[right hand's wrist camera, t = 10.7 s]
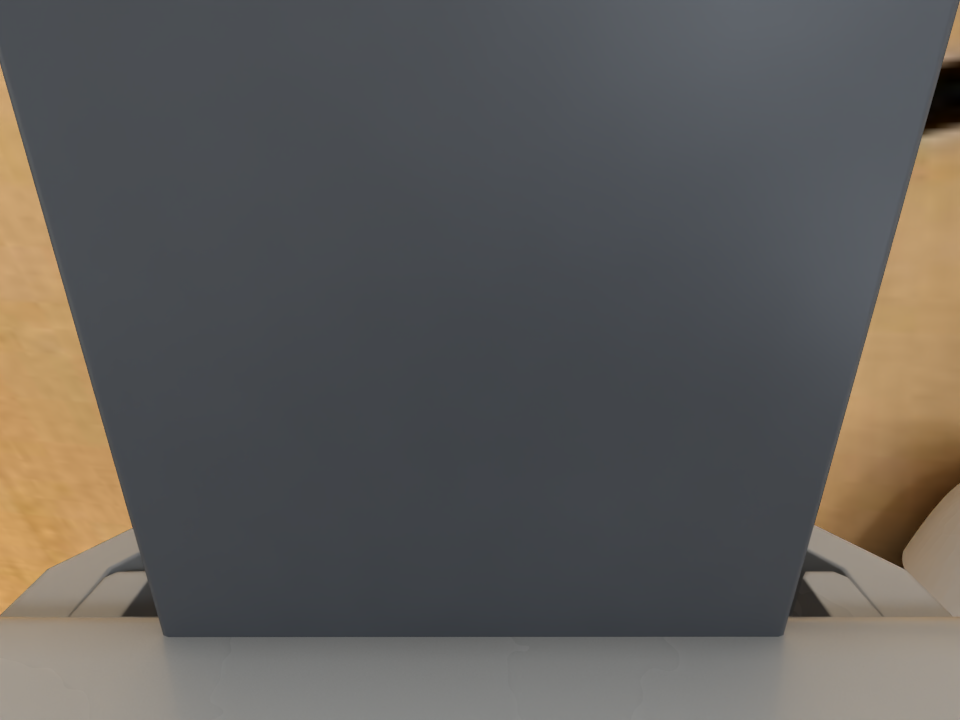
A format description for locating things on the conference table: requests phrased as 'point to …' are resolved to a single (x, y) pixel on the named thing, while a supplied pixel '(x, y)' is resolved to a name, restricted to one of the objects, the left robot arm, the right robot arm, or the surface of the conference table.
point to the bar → (472, 294)
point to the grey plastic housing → (938, 553)
